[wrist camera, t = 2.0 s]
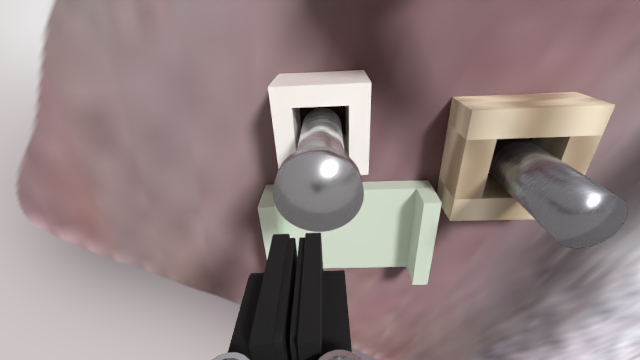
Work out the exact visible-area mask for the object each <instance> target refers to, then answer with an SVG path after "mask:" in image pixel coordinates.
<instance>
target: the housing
mask: <svg viewBox="0 0 640 360" xmlns="http://www.w3.org/2000/svg"><path fill="white" fill-rule="evenodd" d="M268 92H269V100H270V107H271V115H272V123H273V130H274V138H275V146H276V154H277V161H278V169H279V168H280V166H281V164H282V163H283V162H284V160H285V159H286V158H287V157H288V156H289V155H291V154H292V153H294V152H296V151H297V147H298V143H299V138H300V134H301V120H300V108H304V107H329V106H346V135H343V144H344V152H345V154H346V155H347V156H349V157H350V158H351V159H352V160H353V161H354V163H355V164H356V166H357V167H358V169H359V172H360V174H361V175H368V169H369V140H370V111H371V81H370V79H369V78H368V76H367V74H366V73H365V71H364V70H353V71H331V72H309V73H288V74H278V75H277V76H276V78H275V79H274V80H273V81H272V83H271V84H270V85H269V86H268Z"/></svg>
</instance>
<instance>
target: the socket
mask: <svg viewBox="0 0 640 360" xmlns="http://www.w3.org/2000/svg"><path fill="white" fill-rule="evenodd" d="M614 107H615V105H614V104H611V103H608V102H605V101H602V100H599V99H596V98H593V97H589V96H586V95H583V94H580V93H577V92H560V93H536V94H512V95H488V96H464V97H452V102H451V108H450V114H449V121H448V127H447V133H446V139H445V145H444V151H443V157H442V163H441V169H440V175H439V181H438V187H437V193H436V194H437V195H438V197H439V199H440V201H441V202H442V205H441V207H442V209H443V210H444V212H445V214H446V215H447V217H448V219H449V221H480V220H523V219H534V218H533V217H532V216H531V215H530V214H529V213H528V212H527V211H526V210H525V209H524V208H523V207H522V206H521V205H520V204H519V203H518V202H517V201H516V200H515V199H514V198H513V197H512V196H511V195H510V194H509V193H508V192H507V191H506V190H505V189H504V188H503V187H502V186H501V185H500V184H499V183H498V182H497V181H496V180H495V179H494V178H493V177H492V176H491V175H490V176H488V173H489V169H490V165H491V161H492V157H493V153H494V149H495V145H496V141H497V139H512V138H532V141H531V142H533V143H534V144H536V145H538V146H539V147H541V148H542V149H544V150H545V151H547V152H549V153H550V154H552V155H553V156H555V157H557V158H558V159H560V160H561V161H563V162H564V163H566V164H568V165H569V166H571V167H572V168H574V169H575V170H577V171H579V172H580V173H582V174H583V175H585V174H586V172H587V169H588V167H589V165H590V162H591V160H592V158H593V155H594V153H595V151H596V149H597V146H598V144H599V142H600V139H601V137H602V135H603V132H604V130H605V128H606V125H607V123H608V121H609V119H610V116H611V114H612V112H613V109H614Z"/></svg>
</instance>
